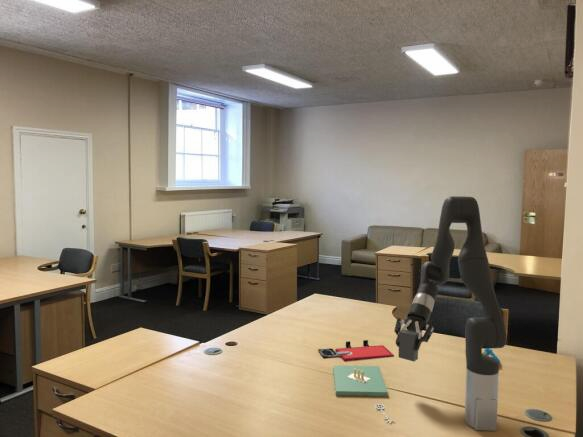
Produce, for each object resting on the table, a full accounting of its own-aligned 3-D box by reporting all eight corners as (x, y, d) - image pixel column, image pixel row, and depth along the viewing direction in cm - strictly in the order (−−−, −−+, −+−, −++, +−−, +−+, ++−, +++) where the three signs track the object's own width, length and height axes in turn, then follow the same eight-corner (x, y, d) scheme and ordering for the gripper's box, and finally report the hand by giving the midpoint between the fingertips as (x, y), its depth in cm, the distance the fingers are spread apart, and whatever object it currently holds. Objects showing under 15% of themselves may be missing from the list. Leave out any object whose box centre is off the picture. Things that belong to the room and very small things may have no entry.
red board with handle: (316, 349, 201) (326, 363, 187) (316, 343, 201) (326, 357, 186) (379, 345, 208) (393, 358, 193) (379, 339, 208) (394, 351, 193)
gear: (502, 362, 182) (483, 342, 185) (491, 371, 183) (472, 352, 186) (499, 356, 193) (481, 337, 195) (488, 364, 194) (470, 346, 196)
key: (382, 405, 152) (373, 406, 152) (382, 402, 152) (373, 403, 151) (395, 424, 140) (385, 425, 140) (395, 421, 140) (385, 422, 140)
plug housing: (402, 354, 165) (402, 329, 164) (417, 359, 161) (418, 333, 160) (398, 357, 163) (398, 331, 162) (414, 361, 159) (414, 335, 158)
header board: (387, 396, 158) (387, 383, 157) (335, 395, 159) (335, 382, 158) (378, 369, 180) (378, 358, 179) (333, 368, 180) (333, 358, 180)
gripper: (400, 299, 171) (384, 338, 163) (437, 305, 162) (422, 347, 153) (406, 310, 175) (391, 348, 167) (442, 317, 166) (428, 358, 158)
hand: (406, 347), depth 160 cm, fingers closed on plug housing, 6 cm apart
